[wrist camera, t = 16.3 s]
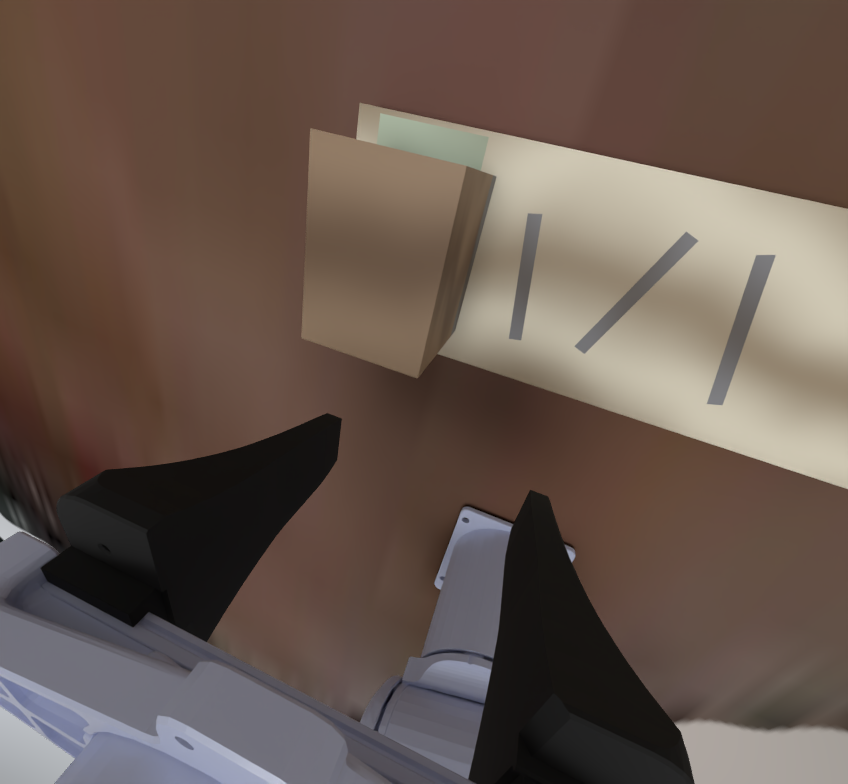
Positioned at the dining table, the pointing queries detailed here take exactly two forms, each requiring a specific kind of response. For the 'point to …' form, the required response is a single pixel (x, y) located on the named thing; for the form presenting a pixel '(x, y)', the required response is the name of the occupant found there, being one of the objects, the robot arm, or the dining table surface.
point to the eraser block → (388, 249)
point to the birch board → (653, 293)
